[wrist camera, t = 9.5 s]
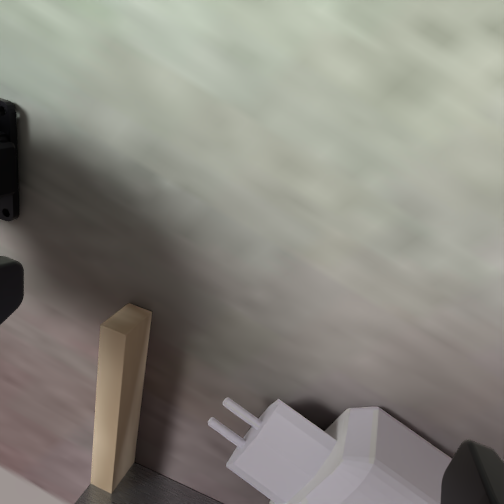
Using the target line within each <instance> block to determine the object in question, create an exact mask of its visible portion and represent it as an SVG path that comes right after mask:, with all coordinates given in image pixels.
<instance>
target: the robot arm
mask: <svg viewBox="0 0 504 504" xmlns="http://www.w3.org/2000/svg"><path fill="white" fill-rule="evenodd" d="M4 108H5V111H6V113H5V111H4ZM18 217H19V194H18V160H17V127H16V110H15V107H14V105H13V104H12V103H11V102H10V101H8V100H5V99H1V98H0V219H2V220H5V221H12V220H15V219H17V218H18ZM23 296H24V269H23V266H22V264H21V263H20V262H18V261H16V260H13V259H11V258H8V257H5V256H0V324H2V323H3V322H4V321H5V320H6V319H7V318H8V317H9V316H10V315H11V314H12V313H13V312H14V311H15V310H16V309H17V308H18V307H19V306H20V304H21V302H22V300H23ZM440 504H504V462H503V461H502V460H501V458H500V457H499V456H498V455H497V453H496V452H495V451H494V450H493V449H491V448H490V447H487V446H485V445H482V444H480V443H477V442H475V441H472V440H465V441H464V442H463V443H462V444H461V445H460V447H459V448H458V450H457V452H456V453H455V455H454V457H453V458H452V460H451V462H450V463H449V465H448V467H447V468H446V470H445V472H444V475H443V478H442V483H441V503H440Z"/></svg>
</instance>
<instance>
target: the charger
mask: <svg viewBox="0 0 504 504" xmlns="http://www.w3.org/2000/svg"><path fill="white" fill-rule="evenodd" d="M223 406H224V407H226V408H227V409H229V410H230V411H231V412H233V413H234V414H235V415H237V416H238V417H240V418H241V419H242V420H244V421H245V422H246V423H248V424H249V425H251V426H252V427H251V428H250V429H249V431H248V432H247V433H246V435H245V436H244V438H242V437H240V436H239V435H237V434H236V433H235V432H233V431H232V430H231V429H229V428H228V427H227V426H225V425H224V424H222V423H221V422H220V421H218V420H217V419H216V418H214V417H211V418H210V419H209V421H208V425H209V426H210V427H211V428H213V429H214V430H216V431H217V432H218V433H220V434H221V435H222V436H224V437H225V438H226V439H228V440H229V441H231V442H232V443H233V444H235V445H236V446H237V448H236V449H235V451H234V452H233V454H232V456H231V457H230V459H229V460H228V462H227V464H226V467H227V468H228V469H230V470H231V471H233V472H234V473H235V474H237V475H238V476H239V477H241V478H242V479H243V480H245V481H246V482H247V483H249V484H250V485H251V486H253V487H254V488H256V489H257V490H258V491H260V492H261V493H262V494H264V495H265V496H266V497H268V498H269V499H270V503H269V504H440V503H441V483H442V478H443V475H444V472H445V470H446V468H447V467H448V465H449V463H450V462H451V460H452V458H450V457H449V456H448V455H446V454H445V453H443V452H442V451H440V450H439V449H438V448H436V447H435V446H433V445H432V444H431V443H429V442H428V441H426V440H425V439H423V438H422V437H421V436H419V435H418V434H416V433H415V432H413V431H412V430H411V429H409V428H408V427H406V426H405V425H404V424H402V423H401V422H399V421H398V420H396V419H395V418H394V417H392V416H391V415H389V414H388V413H386V412H385V411H384V410H382V409H381V408H379V407H377V406H372V407H358V408H348V409H347V410H345V411H344V412H343V413H342V414H341V415H340V416H339V417H338V418H337V419H336V420H335V421H334V422H333V423H332V424H331V425H330V426H329V427H328V428H327V429H326V430H325V431H323V430H321V429H320V428H319V427H317V426H316V425H314V424H313V423H312V422H310V421H309V420H307V419H306V418H305V417H303V416H302V415H301V414H299V413H298V412H296V411H295V410H294V409H292V408H291V407H289V406H288V405H287V404H285V403H284V402H282V401H281V400H280V399H278V400H276V401H275V402H274V403H272V404H271V405H270V406H269V407H268V408H267V409H266V410H265V411H264V413H263V414H262V415H261V416H260V417H259V419H258V418H257V417H255V416H254V415H253V414H251V413H250V412H248V411H247V410H246V409H244V408H243V407H241V406H240V405H239V404H237V403H236V402H235V401H233V400H232V399H230V398H229V397H227V398H225V399H224V401H223Z"/></svg>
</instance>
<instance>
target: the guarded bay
mask: <svg viewBox="0 0 504 504" xmlns="http://www.w3.org/2000/svg"><path fill="white" fill-rule="evenodd" d="M151 318H152V312H151V311H148V310H146V309H143V308H140V307H138V306H135V305H132V304H130V303H128V304H127V305H125V306H124V307H123V308H122V309H120V310H119V311H118V312H116V313H115V314H114V315H113V316H111V317H110V318H109V319H107V320H106V321H105V322H103V323H102V324H101V325H100V340H99V356H98V372H97V389H96V405H95V421H94V438H93V454H92V471H91V484H90V485H89V486H88V488H87V489H86V490H85V491H84V493H83V494H82V495H81V496H80V498H79V499H78V500H77V501H76V503H75V504H222V503H220V502H218V501H216V500H214V499H211V498H209V497H207V496H205V495H203V494H201V493H199V492H197V491H194V490H192V489H190V488H188V487H186V486H184V485H182V484H179V483H177V482H175V481H173V480H171V479H169V478H167V477H165V476H162V475H160V474H158V473H156V472H154V471H152V470H150V469H148V468H145V467H143V466H141V465H139V464H137V463H135V462H134V460H135V452H136V443H137V435H138V427H139V418H140V410H141V401H142V393H143V385H144V376H145V368H146V360H147V351H148V343H149V335H150V326H151Z"/></svg>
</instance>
